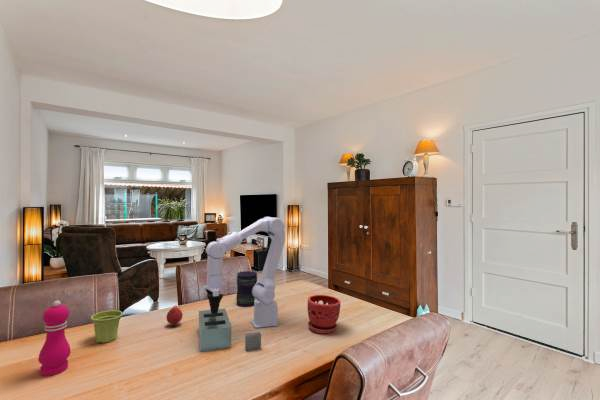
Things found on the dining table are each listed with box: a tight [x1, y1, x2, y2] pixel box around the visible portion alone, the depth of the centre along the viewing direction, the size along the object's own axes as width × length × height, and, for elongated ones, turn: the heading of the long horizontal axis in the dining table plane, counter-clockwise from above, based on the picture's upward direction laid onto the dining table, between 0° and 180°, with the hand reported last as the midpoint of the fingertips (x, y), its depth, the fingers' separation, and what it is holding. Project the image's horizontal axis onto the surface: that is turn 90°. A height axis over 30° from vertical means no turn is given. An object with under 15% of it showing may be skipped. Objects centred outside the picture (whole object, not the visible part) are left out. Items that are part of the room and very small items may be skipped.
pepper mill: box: [38, 299, 72, 377], centre depth 88 cm, size 7×7×20 cm
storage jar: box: [235, 270, 258, 308], centre depth 149 cm, size 10×10×15 cm
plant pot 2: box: [307, 294, 341, 334], centre depth 121 cm, size 13×13×12 cm
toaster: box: [197, 308, 232, 353], centre depth 111 cm, size 10×19×7 cm, turn 20°
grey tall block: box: [244, 331, 262, 352], centre depth 103 cm, size 5×2×5 cm, turn 110°
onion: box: [166, 304, 183, 327], centre depth 121 cm, size 6×6×8 cm
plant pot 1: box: [90, 309, 123, 344], centre depth 107 cm, size 9×9×9 cm
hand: (213, 309), depth 114 cm, fingers open, 6 cm apart
